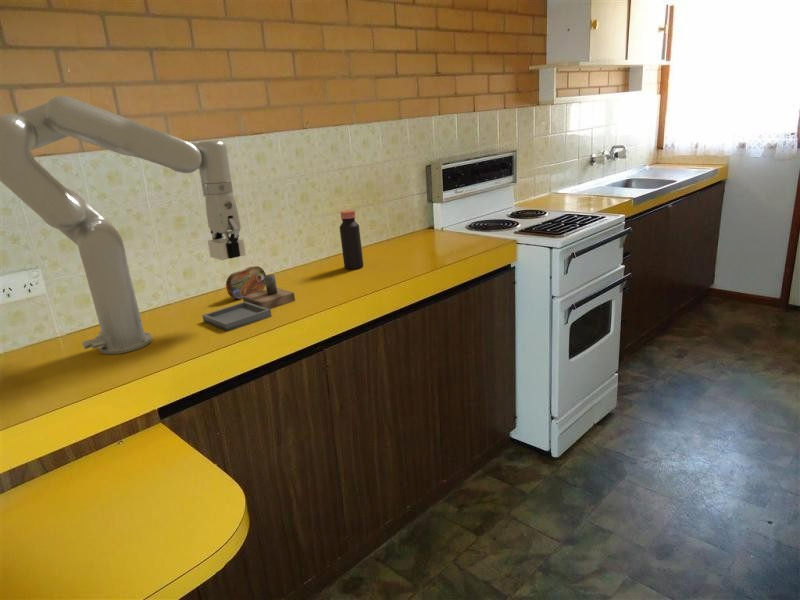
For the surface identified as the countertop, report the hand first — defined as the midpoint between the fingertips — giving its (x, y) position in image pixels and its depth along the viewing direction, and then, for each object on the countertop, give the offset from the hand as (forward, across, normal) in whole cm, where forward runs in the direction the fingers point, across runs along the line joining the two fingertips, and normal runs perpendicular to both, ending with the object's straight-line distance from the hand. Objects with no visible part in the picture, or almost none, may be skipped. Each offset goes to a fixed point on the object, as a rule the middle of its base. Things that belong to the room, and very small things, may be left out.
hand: (227, 255), depth 155 cm
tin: (+18, +19, -14) cm, 29 cm away
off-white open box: (0, 0, 0) cm, 0 cm away
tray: (+18, -1, 0) cm, 18 cm away
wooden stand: (+18, +5, -13) cm, 22 cm away
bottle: (+17, +14, -53) cm, 57 cm away
